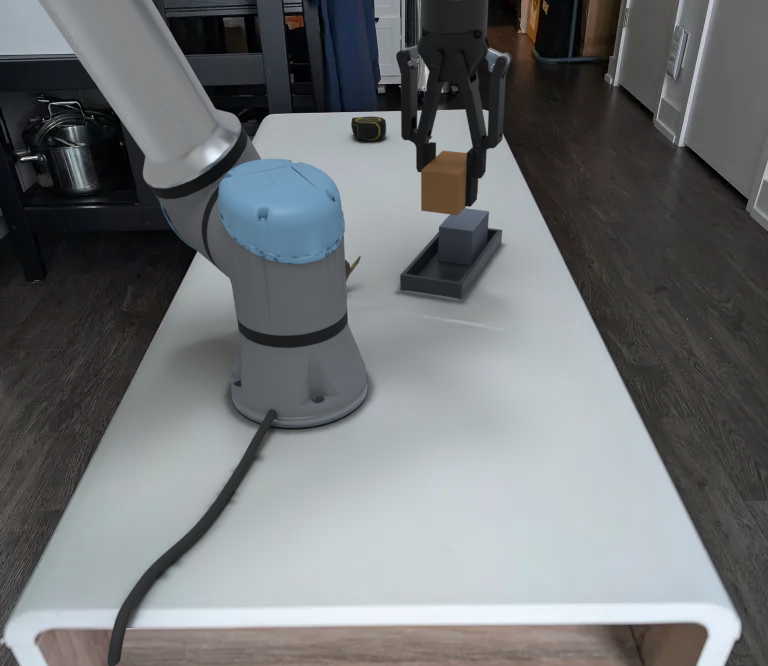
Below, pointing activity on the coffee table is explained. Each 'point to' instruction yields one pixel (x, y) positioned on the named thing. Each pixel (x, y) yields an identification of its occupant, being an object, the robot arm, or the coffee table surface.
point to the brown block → (444, 183)
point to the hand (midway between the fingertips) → (450, 199)
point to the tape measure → (368, 128)
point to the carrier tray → (446, 269)
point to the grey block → (463, 236)
